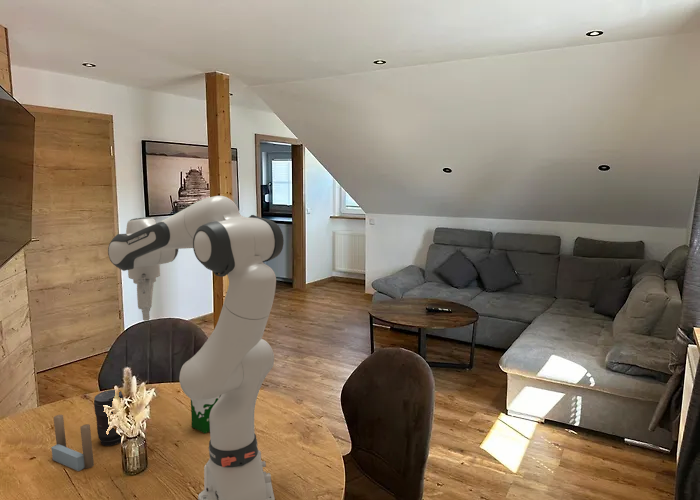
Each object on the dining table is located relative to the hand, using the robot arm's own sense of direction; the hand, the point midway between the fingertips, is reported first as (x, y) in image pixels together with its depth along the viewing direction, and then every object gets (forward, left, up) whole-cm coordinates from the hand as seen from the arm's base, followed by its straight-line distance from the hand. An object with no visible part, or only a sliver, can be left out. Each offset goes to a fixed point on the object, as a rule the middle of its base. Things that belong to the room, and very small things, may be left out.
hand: (146, 315), depth 151 cm
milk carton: (-2, -16, -39) cm, 42 cm away
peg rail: (-5, +23, -39) cm, 46 cm away
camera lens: (+3, +12, -39) cm, 41 cm away
